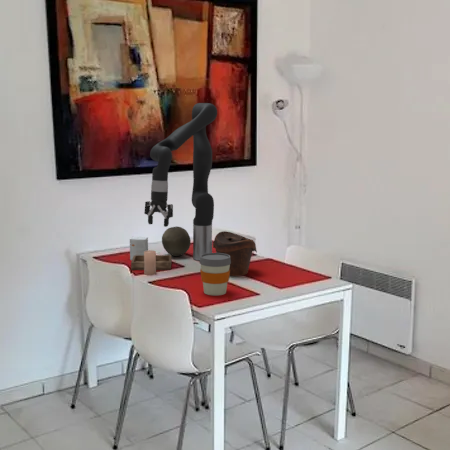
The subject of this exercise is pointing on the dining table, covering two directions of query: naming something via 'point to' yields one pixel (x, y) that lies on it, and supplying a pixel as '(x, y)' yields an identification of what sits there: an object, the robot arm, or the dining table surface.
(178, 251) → the cantaloupe
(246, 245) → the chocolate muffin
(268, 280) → the dining table surface
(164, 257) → the tray
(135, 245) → the small box
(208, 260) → the reusable coffee cup
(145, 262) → the tan round cylinder
